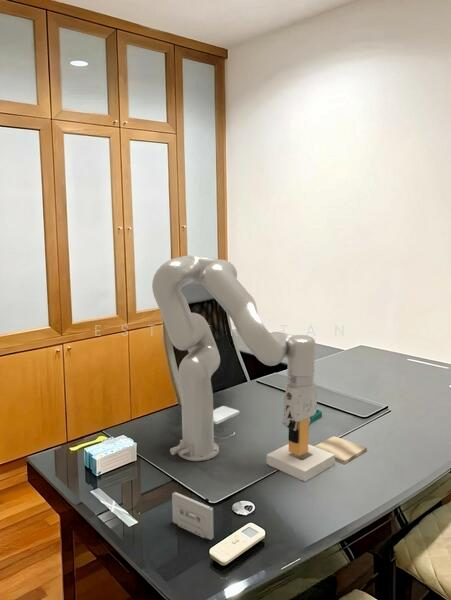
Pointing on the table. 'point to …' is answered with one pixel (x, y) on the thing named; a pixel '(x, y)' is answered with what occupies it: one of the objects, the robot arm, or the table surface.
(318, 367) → the table surface
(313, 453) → the white square holed plate
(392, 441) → the table surface
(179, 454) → the robot arm
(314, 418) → the digital multimeter
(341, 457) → the pad
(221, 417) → the hard drive
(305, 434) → the plug
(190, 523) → the cassette
